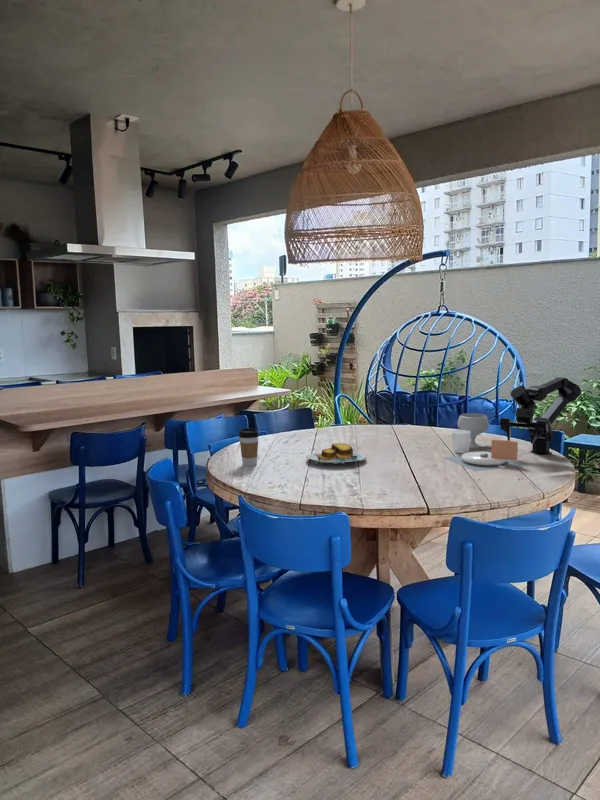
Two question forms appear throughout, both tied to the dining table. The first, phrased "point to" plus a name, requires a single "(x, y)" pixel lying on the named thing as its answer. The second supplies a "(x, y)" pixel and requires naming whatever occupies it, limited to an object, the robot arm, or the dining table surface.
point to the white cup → (461, 441)
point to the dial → (493, 454)
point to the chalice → (473, 426)
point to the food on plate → (337, 455)
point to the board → (484, 467)
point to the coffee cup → (249, 446)
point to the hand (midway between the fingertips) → (519, 442)
